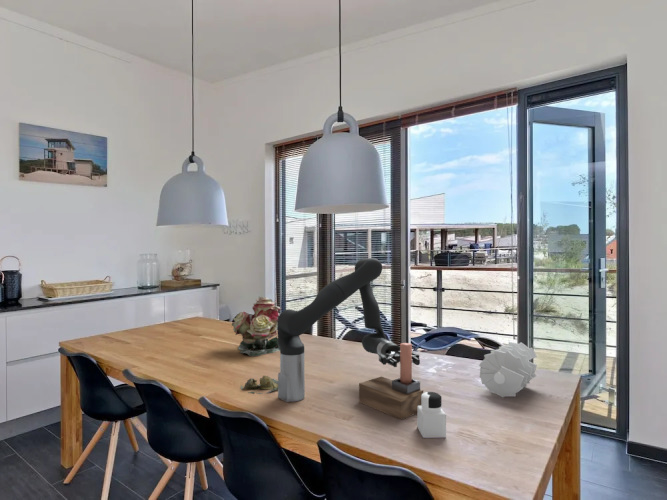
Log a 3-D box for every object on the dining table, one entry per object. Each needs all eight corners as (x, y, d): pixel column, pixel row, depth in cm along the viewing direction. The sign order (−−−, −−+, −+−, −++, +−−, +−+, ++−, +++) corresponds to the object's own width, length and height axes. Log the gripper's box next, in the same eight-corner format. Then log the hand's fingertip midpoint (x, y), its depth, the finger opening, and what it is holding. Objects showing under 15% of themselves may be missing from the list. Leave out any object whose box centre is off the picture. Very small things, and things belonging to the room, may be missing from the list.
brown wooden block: (401, 419, 133) (401, 389, 132) (359, 402, 148) (359, 375, 148) (423, 410, 140) (423, 381, 140) (381, 394, 156) (381, 368, 155)
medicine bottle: (439, 427, 127) (439, 389, 127) (446, 437, 120) (446, 398, 120) (417, 427, 127) (417, 389, 127) (422, 438, 120) (422, 398, 120)
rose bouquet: (228, 348, 228) (228, 295, 228) (277, 342, 241) (277, 292, 241) (238, 359, 205) (238, 301, 205) (292, 352, 218) (292, 297, 218)
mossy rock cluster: (293, 385, 169) (293, 372, 169) (265, 398, 153) (265, 384, 153) (260, 378, 178) (260, 365, 178) (231, 390, 162) (231, 376, 162)
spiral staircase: (487, 406, 153) (507, 385, 173) (532, 397, 143) (547, 376, 162) (466, 360, 158) (487, 345, 177) (508, 348, 147) (526, 333, 167)
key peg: (406, 392, 138) (406, 346, 138) (397, 389, 141) (397, 344, 141) (414, 389, 141) (414, 344, 141) (405, 386, 144) (405, 342, 144)
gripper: (372, 343, 154) (388, 354, 138) (406, 341, 158) (425, 351, 142) (372, 362, 154) (388, 375, 138) (406, 360, 158) (425, 372, 142)
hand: (407, 363), depth 140 cm, fingers open, 8 cm apart
